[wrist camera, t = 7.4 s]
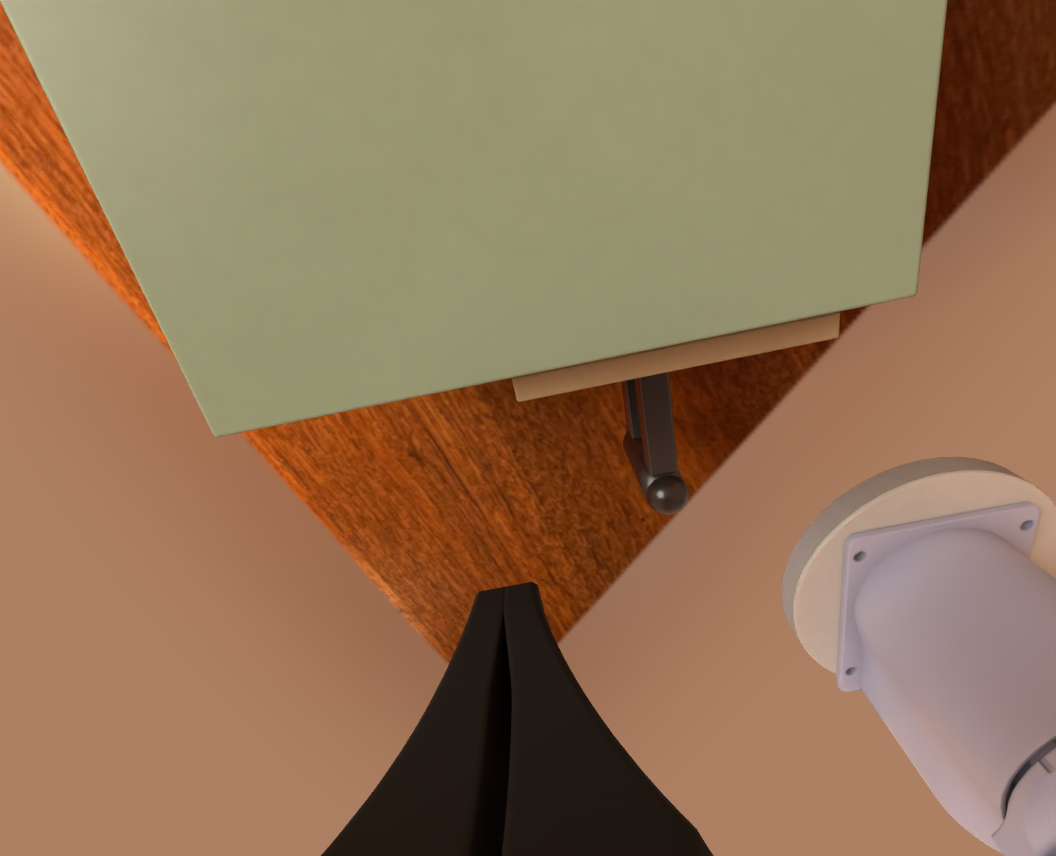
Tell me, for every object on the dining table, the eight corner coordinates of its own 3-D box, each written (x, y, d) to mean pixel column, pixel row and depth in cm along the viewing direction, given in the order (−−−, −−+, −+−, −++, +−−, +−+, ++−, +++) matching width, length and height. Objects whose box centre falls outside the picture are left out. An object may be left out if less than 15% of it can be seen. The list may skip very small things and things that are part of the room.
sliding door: (728, 420, 20) (831, 535, 14) (539, 457, 21) (558, 586, 14) (721, 258, 18) (841, 311, 12) (506, 303, 18) (511, 378, 12)
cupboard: (740, 281, 19) (911, 365, 11) (344, 363, 20) (242, 497, 12) (726, -163, 14) (1009, -564, 6) (202, -38, 15) (-135, -266, 7)
